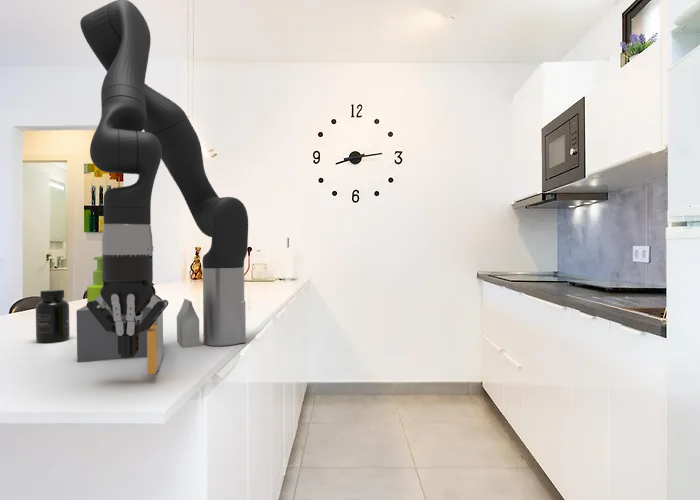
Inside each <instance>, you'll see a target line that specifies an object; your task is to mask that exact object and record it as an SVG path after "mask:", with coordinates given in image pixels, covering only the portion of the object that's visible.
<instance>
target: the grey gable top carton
mask: <svg viewBox="0 0 700 500" xmlns="http://www.w3.org/2000/svg"><path fill="white" fill-rule="evenodd" d="M200 341H201V340H200V318H199V316H198V314H197V312H196V311H195V308H194V306H193V302H192V301H191V300H189V299H187V298H183V303H182V305H181V307H180V309H179V311H178V313H177V315H176V343H177V344H178V345H179V346H180V347H181V348H191V347H200Z"/></svg>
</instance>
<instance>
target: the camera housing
mask: <svg viewBox="0 0 700 500" xmlns="http://www.w3.org/2000/svg"><path fill="white" fill-rule="evenodd" d="M150 304H151V301H150V303H149V304H148V305H147V307H146V308H145V309H144V310H143V315H142V319H141V322H142V321H143V320H144V318H145V317H146V316H147V314H148V313H149V312H150V311H151V308H150ZM106 308H107V310H108V311H109V312H110V313H111V315H112V316H113V311H112V310H111V309H110V308H109V306H108V305H107V307H106ZM75 315H76V355H77V356H76V358H77V363H79V362H94V361H105V360H106V361H109V360H121V359H122V360H123V358H121V355H119V353H118V336H117V334H116V333H113V332H107V331H106V330H105V329H104V328H103V326H102V325H101V324H100V323H99V321H98V320H97V319H96V318H95V316H94V315H93V314H92V313H91V311H90V310H89V309H88V308H87V306H86V305H85V306H82V307H81V308H78V309H76V314H75ZM147 331H148V329H147V330H145V331H143V332H140V333H139V350H138V353H136V354H135V356H134V357H132V358H131V359H133V358H136V357H138V358H147ZM136 359H137V358H136Z"/></svg>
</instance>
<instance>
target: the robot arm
mask: <svg viewBox="0 0 700 500" xmlns="http://www.w3.org/2000/svg"><path fill="white" fill-rule="evenodd" d="M79 24H80V29H81V31H82V35H83V37H84V38H85V41H86V42H87V44H88V46H89V48H90V49H91V51H92V52H93V53H94V55H95V56H96V58H97V60H98V61H99V62H100V64H101V65H102V67H103V68H104V70H105V71H106V75H105V76H104V79H103V81H102V84H101V91H100V95H101V96H100V97H101V99H100V101H101V105H100V106H101V115H100V116H101V117H100V121H99V123H98V126H97V127H96V129H95V130H94V131H95V132H94V134H93V136H92V137H91V138H92V139H91V142H90V147H89V154H90V155H89V156H90V159H91V162H92V163H93V165H94V166H95V167H96V168H97V169H98V170H100V171H101V172H104V173H111V174H112V173H113V174H126V175H129V174H130V175H138V177H137V181H135V182H134V183H132V184H130V185H126V186H120V187H117V186H116V187H113V188H108V189H107V190H105V192H104V195H103V228H102V229H103V230H102V237H101V252H102V253H101V257H102V279H103V287H102V289H101V291H100V296H98V297H97V298H96V299H95V300H93V301H90V302H88V303H87V302H86V305H85V306H87V308H88V309H89V310H90V311H91V313H92V314H93V315H94V316H95V318H96V319H97V320H98V321H99V323H100V324H101V325H102V326H103V328H104V329H105V330H106V331H107V332H113V333H116V334H117V336H118V353H119V355H121V358H124V359H133V358H132V357H134V356H135V354H136V353H138V350H139V333H140V332H143V331H145V330H147V329H149V328H150V327H151V326H152V325H153V323H154V322H155V321H156V320H157V318H158V317H159V316H160V315H161V313H162V312H163V313H164V311H165V310H166V308H167V307H168V305H169V301H168V300H167V299H162V298H161V297H160V296H158V295H157V294H156V293H157V291H156V288H155V287H154V284H153V279H154V278H153V277H154V273H153V272H154V269H153V268H154V267H153V266H154V264H153V263H154V262H153V261H154V260H153V257H154V256H153V255H154V253H153V252H154V245H153V233H152V227H151V224H152V222H151V220H152V219H151V216H152V215H151V214H152V213H151V212H152V211H151V208H152V207H151V206H152V205H151V203H152V193H153V188H154V184H155V181H156V176H157V173H158V170H159V167H160V164H161V162H163V164H164V166H165V168H166V169H167V171H168V173H169V175H170V176H171V178H172V179H173V181H174V182H175V184H176V186H177V187H178V189H179V190H180V191H179V192H180V193H181V195H182V197H183V199H184V201H185V203H186V205H187V207H188V210H189V212H190V214H191V216H192V218H193V221H194V222H195V224H196V226H197V228H198V229H199V230H200V232H201V233H203V234H204V235H205V236H207V237H209V238H211V243H210V244H211V246H210V248H209V249H208V251H207V252H206V253H205V254H204V255H203V256H202V305H203V306H202V311H203V312H202V318H203V321H202V324H203V326H202V327H203V328H202V329H203V333H202V335H203V344H204V345H207V346H220V347H221V346H233V345H237V344H243V343H244V344H245V343H246V342H247V338H246V336H247V335H246V334H247V333H246V332H247V331H246V330H247V328H246V326H247V325H246V320H247V319H246V300H245V260H246V259H245V258H246V257H247V253H248V246H249V245H248V244H249V241H248V240H249V216H248V215H249V214H248V211H247V208H246V206H245V205H244V203H243V202H242V201H241V200H240V199H238V198H237V197H233V196H224V197H219V195H218V194H217V192H216V191H215V189H214V187H213V186H212V184H211V183H210V181H209V178H208V176H207V173H206V170H205V166H204V157H203V151H202V145H201V141H200V138H199V136H198V134H197V132H196V130H195V128H194V126H193V125H192V123H191V121H190V119H189V117H188V116H187V114H186V112H185V111H184V109H183V108H182V107H181V106H180V105H178V104H177V103H176V102H174V101H173V100H171V99H170V98H168V97H167V96H165V95H164V94H162V93H160V92H158V91H157V90H155V89H154V88H152V87H151V86H149V85H148V84H146V82H145V81H146V77H147V76H146V75H147V71H148V69H147V68H148V62H149V58H150V57H149V56H150V51H151V49H150V48H151V40H152V39H151V31H150V28H149V25H148V22H147V20H146V18H145V17H144V16H143V14H142V12H141V11H140V9H139V8H138V7H137V6H136V5H135V4H134V3H133V2H131V1H130V0H114V1H111V2H109V3H107V4H104V5H103V6H101V7H99V8H97V9H95V10H93V11H91V12H89V13H87V14H85V15H83V17H81V19H80V23H79ZM150 301H151V304H150V308H151V311H150V312H149V313H148V314H147V316H146V317H145V318H144V320H143V321H142V322H141V319H142V315H143V310H144V309H145V308H146V307H147V305H148V304H149V303H150ZM107 305H108V306H109V308H110V309H111V310H112V311H113V316H112V315H111V313H110V312H109V311H108V310H107V308H106V307H107Z"/></svg>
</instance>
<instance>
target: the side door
mask: <svg viewBox="0 0 700 500" xmlns="http://www.w3.org/2000/svg"><path fill="white" fill-rule="evenodd" d="M163 357H164V311H163V312H162V313H161V315H160V316H159V317H158V318H157V320H156V321H155V322H154V323H153V325H152V326H151V327H150V328H149V329H148V331H147V357H146V359H147V375H155V374H157V372H158V371H159V370H160V366H161V363H162V359H163Z"/></svg>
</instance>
